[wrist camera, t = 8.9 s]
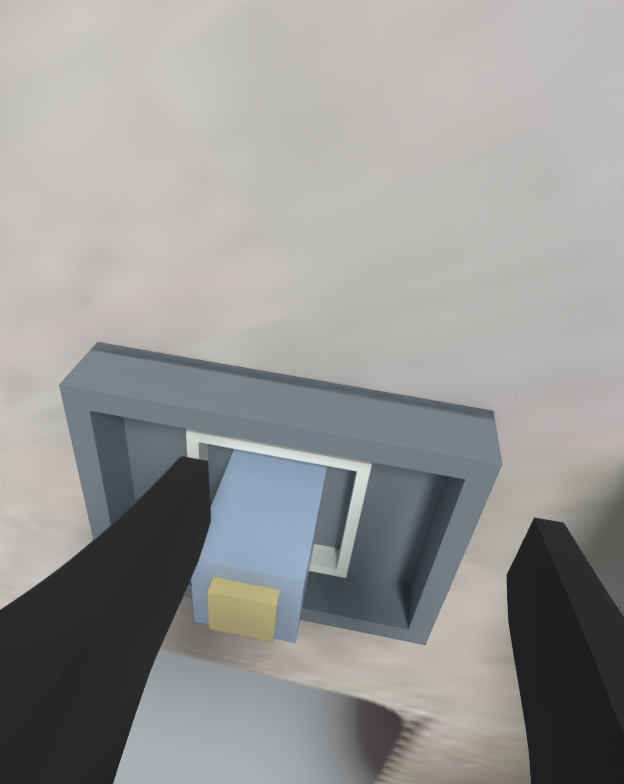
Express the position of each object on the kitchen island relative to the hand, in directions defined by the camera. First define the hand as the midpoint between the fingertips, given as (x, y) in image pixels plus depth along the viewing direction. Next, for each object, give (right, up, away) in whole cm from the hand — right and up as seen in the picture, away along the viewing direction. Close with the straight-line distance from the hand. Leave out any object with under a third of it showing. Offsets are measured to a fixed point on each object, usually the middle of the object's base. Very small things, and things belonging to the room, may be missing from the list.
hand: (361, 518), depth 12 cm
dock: (-3, -1, +13) cm, 13 cm away
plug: (-3, -1, +12) cm, 13 cm away
